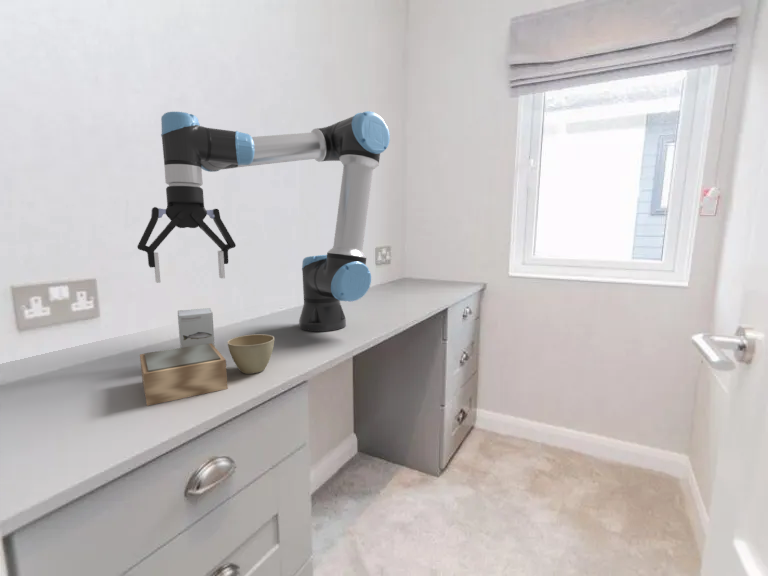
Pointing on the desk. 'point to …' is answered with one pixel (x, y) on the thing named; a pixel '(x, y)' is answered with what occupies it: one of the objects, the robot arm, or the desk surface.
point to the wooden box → (182, 373)
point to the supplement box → (196, 327)
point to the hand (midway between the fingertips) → (191, 280)
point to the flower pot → (251, 352)
